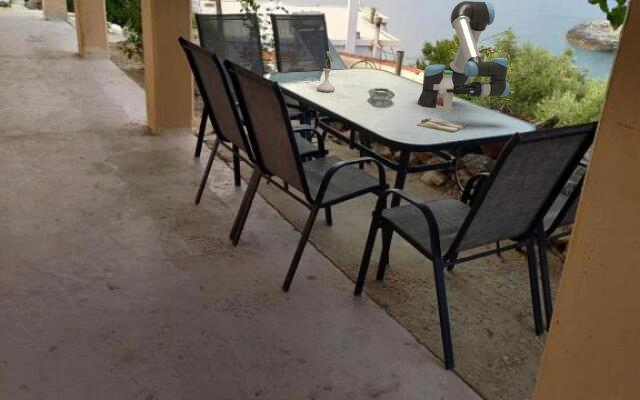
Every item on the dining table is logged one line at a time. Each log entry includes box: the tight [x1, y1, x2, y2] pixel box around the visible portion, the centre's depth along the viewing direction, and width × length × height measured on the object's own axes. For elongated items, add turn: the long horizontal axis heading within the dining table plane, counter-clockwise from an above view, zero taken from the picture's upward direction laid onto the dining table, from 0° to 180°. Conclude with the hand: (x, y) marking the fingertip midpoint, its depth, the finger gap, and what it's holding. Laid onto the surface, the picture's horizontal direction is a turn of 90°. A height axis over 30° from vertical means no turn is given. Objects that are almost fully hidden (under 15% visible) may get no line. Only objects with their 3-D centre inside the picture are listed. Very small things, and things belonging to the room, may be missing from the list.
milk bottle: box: [435, 70, 454, 113], centre depth 297 cm, size 8×8×20 cm
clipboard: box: [416, 118, 466, 134], centre depth 303 cm, size 16×20×2 cm
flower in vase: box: [317, 50, 336, 93], centre depth 372 cm, size 13×11×25 cm
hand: (436, 88), depth 296 cm, fingers closed on milk bottle, 7 cm apart
